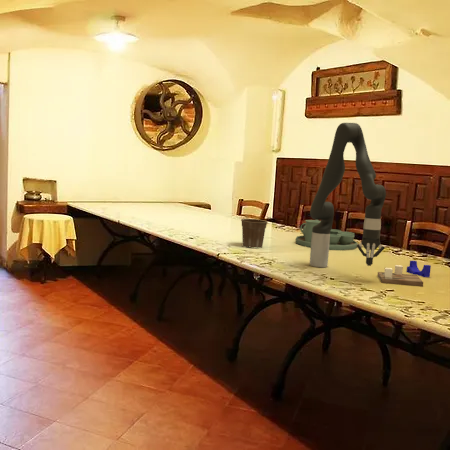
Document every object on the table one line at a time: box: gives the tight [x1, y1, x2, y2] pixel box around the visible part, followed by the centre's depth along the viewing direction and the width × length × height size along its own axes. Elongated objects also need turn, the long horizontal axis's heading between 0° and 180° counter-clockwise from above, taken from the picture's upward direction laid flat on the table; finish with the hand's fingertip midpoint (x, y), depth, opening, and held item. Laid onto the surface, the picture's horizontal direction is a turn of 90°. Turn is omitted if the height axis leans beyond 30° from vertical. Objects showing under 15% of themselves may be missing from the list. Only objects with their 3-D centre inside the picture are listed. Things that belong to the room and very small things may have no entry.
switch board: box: [376, 271, 424, 287], centre depth 240 cm, size 15×18×2 cm
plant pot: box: [240, 218, 268, 248], centre depth 313 cm, size 16×16×16 cm
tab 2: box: [394, 264, 404, 275], centre depth 244 cm, size 3×3×4 cm
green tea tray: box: [295, 219, 359, 251], centre depth 336 cm, size 40×40×16 cm
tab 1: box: [383, 267, 393, 278], centre depth 236 cm, size 3×3×4 cm
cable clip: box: [405, 260, 432, 278], centre depth 257 cm, size 12×4×6 cm, turn 18°
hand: (368, 265), depth 237 cm, fingers closed
